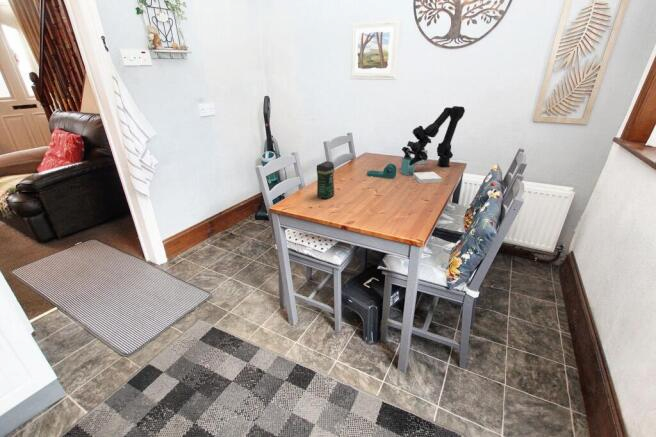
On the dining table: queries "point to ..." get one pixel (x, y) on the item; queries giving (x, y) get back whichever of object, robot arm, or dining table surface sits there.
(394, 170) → the bracket
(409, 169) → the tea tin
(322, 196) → the coffee jar
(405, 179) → the dining table surface
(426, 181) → the riser block
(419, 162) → the small box
